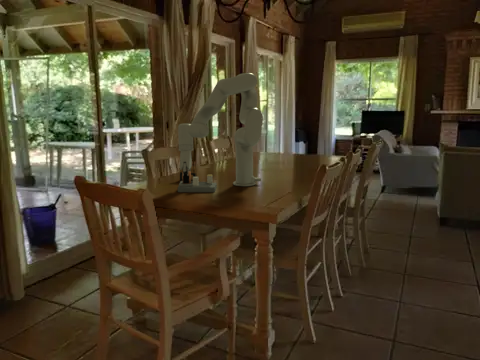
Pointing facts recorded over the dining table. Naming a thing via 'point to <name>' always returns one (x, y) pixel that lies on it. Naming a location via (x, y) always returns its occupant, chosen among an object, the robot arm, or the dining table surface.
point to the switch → (195, 181)
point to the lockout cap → (189, 177)
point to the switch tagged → (209, 179)
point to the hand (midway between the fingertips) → (186, 181)
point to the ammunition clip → (193, 172)
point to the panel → (197, 187)
